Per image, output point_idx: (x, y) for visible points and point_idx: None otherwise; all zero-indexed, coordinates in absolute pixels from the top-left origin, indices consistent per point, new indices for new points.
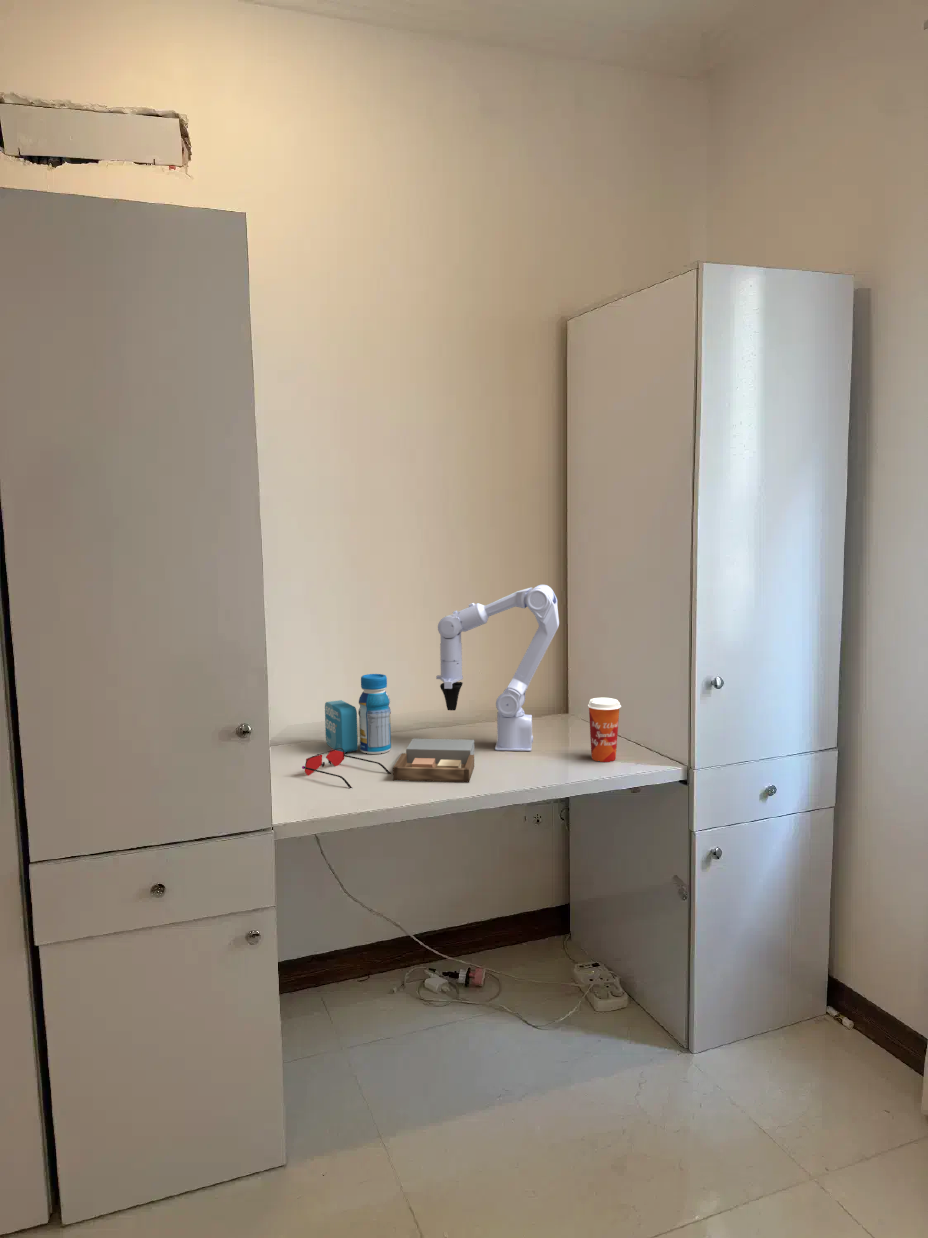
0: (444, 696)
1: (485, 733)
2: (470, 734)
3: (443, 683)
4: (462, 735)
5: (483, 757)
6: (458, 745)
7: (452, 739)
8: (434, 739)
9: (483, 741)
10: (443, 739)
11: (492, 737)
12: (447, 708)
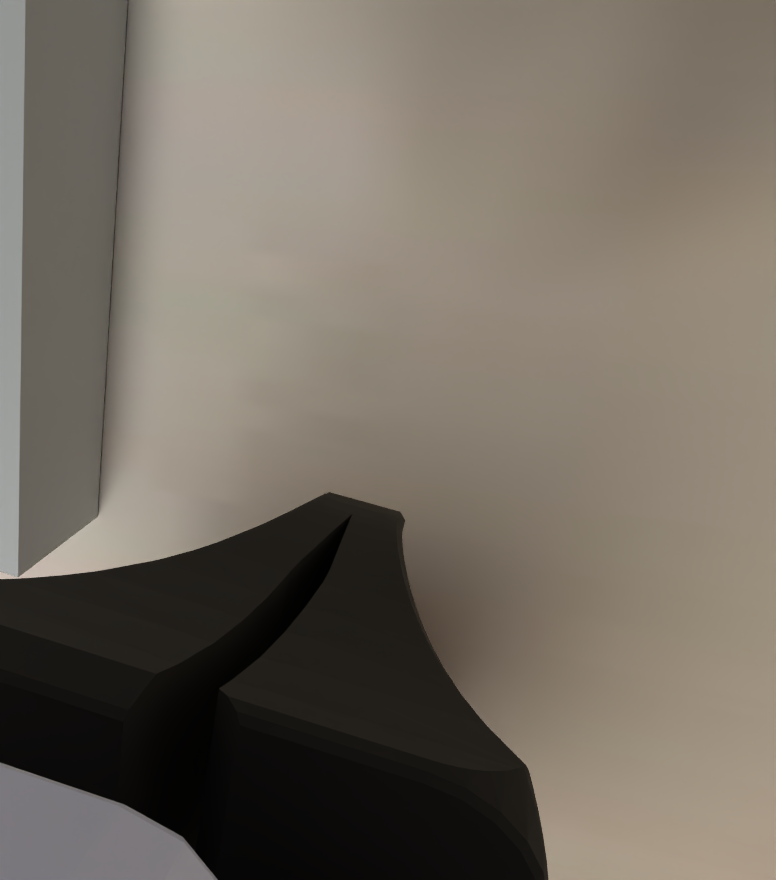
0: (169, 557)
1: (744, 733)
2: (750, 611)
3: (392, 824)
4: (734, 536)
5: (42, 563)
6: None
7: (12, 391)
8: (2, 201)
9: (475, 658)
10: (7, 301)
11: (588, 749)
12: (315, 500)
